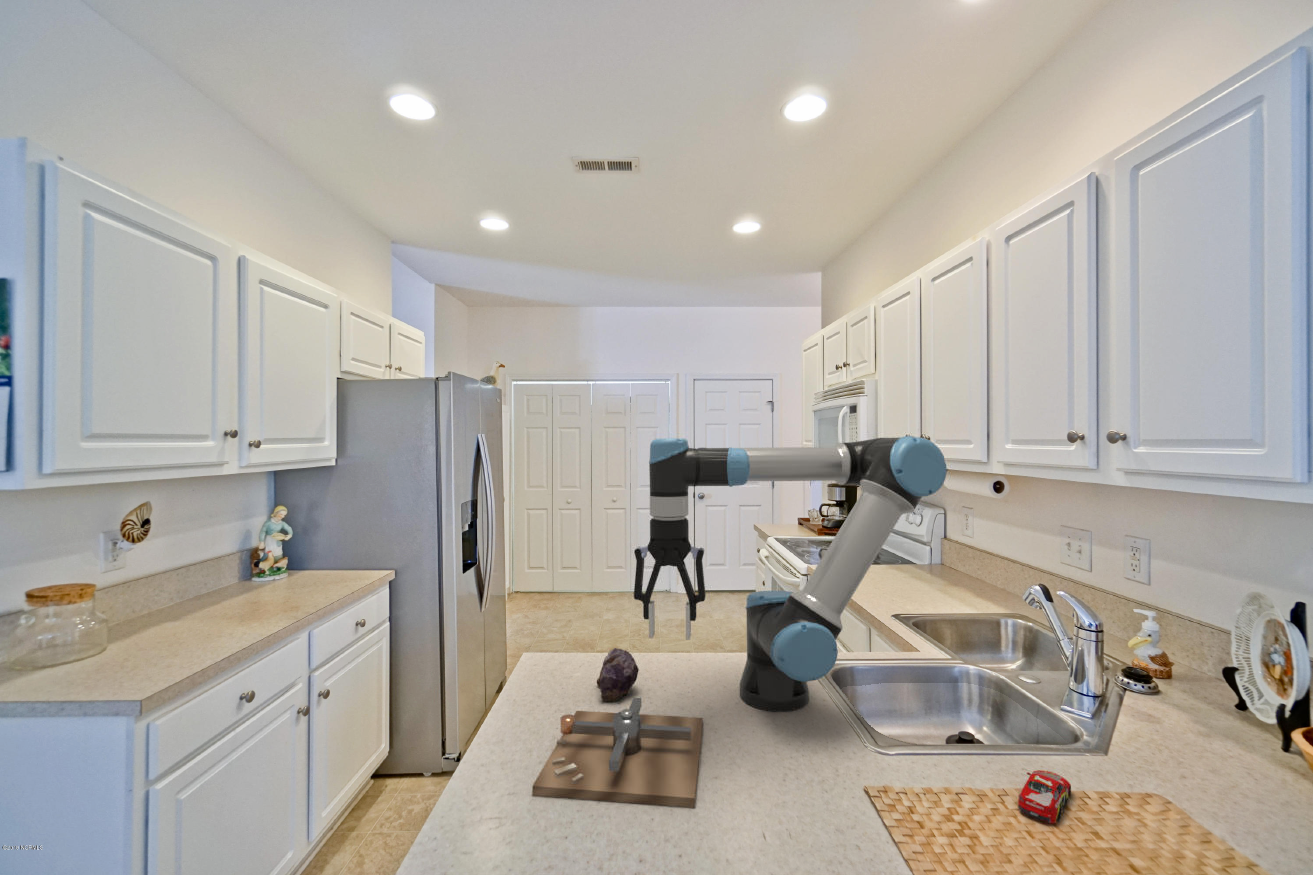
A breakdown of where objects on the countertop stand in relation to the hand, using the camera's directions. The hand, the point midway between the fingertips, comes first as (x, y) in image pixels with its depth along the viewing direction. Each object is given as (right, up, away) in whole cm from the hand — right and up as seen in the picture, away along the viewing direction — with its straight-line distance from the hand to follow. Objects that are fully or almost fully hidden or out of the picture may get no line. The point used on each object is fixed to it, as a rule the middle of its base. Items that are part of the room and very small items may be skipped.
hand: (670, 636), depth 109 cm
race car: (+58, -19, -22) cm, 65 cm away
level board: (-8, -19, -8) cm, 22 cm away
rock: (-12, -20, +19) cm, 30 cm away
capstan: (-8, -17, -8) cm, 21 cm away
